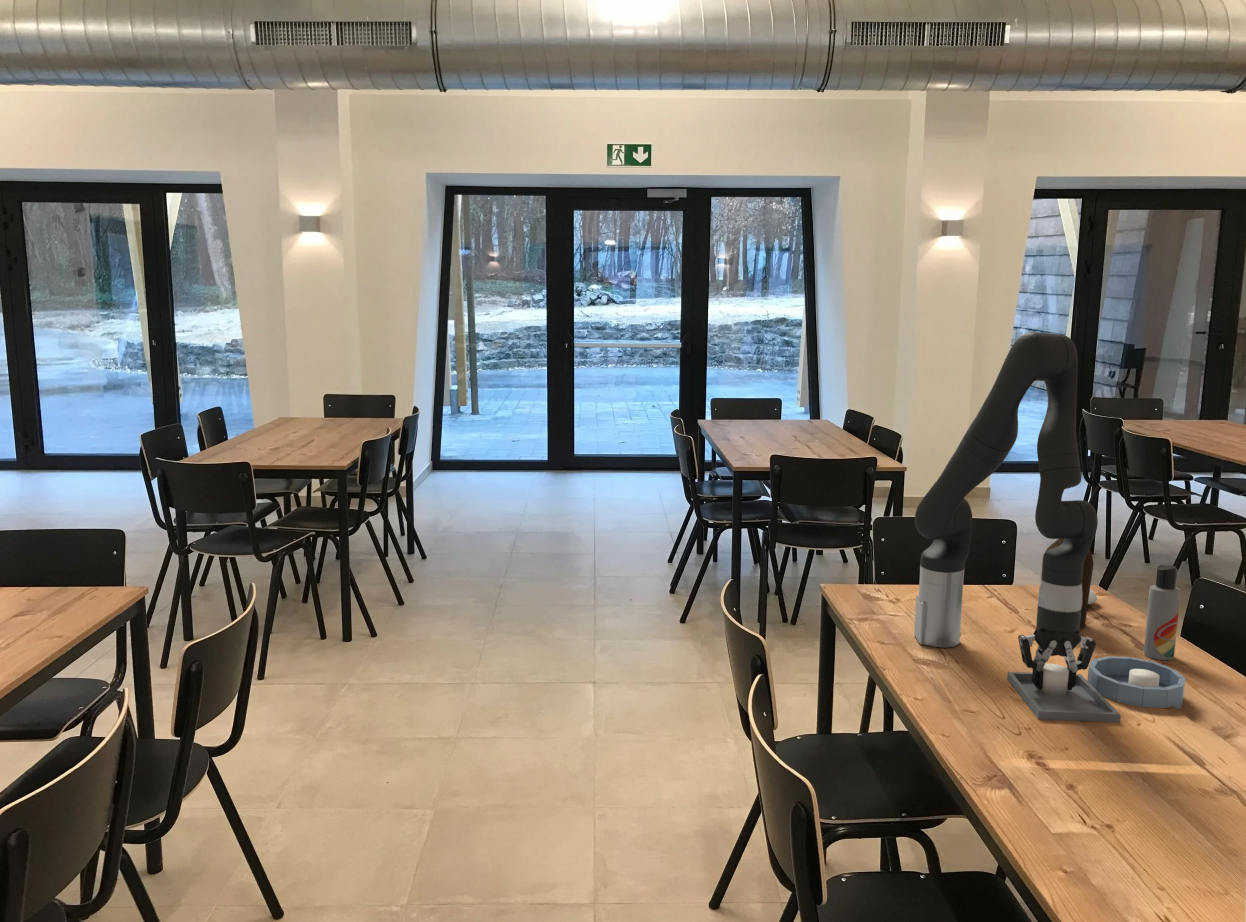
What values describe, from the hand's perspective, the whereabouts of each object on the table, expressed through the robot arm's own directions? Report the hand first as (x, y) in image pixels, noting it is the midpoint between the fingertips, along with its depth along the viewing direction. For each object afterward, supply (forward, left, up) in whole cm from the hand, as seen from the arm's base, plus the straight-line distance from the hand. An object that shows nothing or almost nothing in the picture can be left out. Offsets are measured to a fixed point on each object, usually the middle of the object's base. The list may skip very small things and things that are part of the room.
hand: (1052, 687), depth 177 cm
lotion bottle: (+30, +23, -2) cm, 38 cm away
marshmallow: (0, 0, -1) cm, 1 cm away
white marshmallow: (+16, -1, -1) cm, 16 cm away
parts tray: (0, -4, -2) cm, 4 cm away
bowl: (+16, +2, -2) cm, 16 cm away
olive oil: (+17, +42, -2) cm, 45 cm away
